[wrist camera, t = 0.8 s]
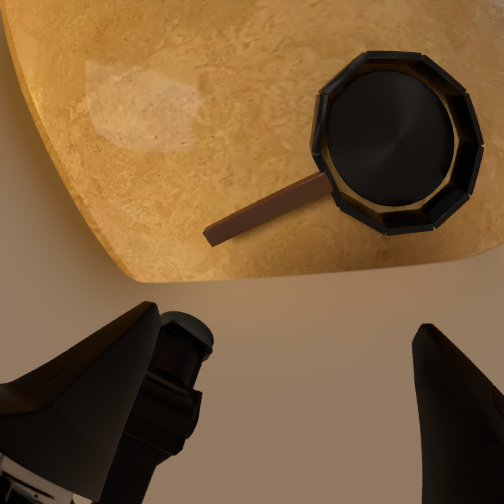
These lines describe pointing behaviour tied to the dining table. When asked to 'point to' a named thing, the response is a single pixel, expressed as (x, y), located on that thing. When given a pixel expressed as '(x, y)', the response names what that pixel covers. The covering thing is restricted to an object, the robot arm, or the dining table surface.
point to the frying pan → (382, 150)
